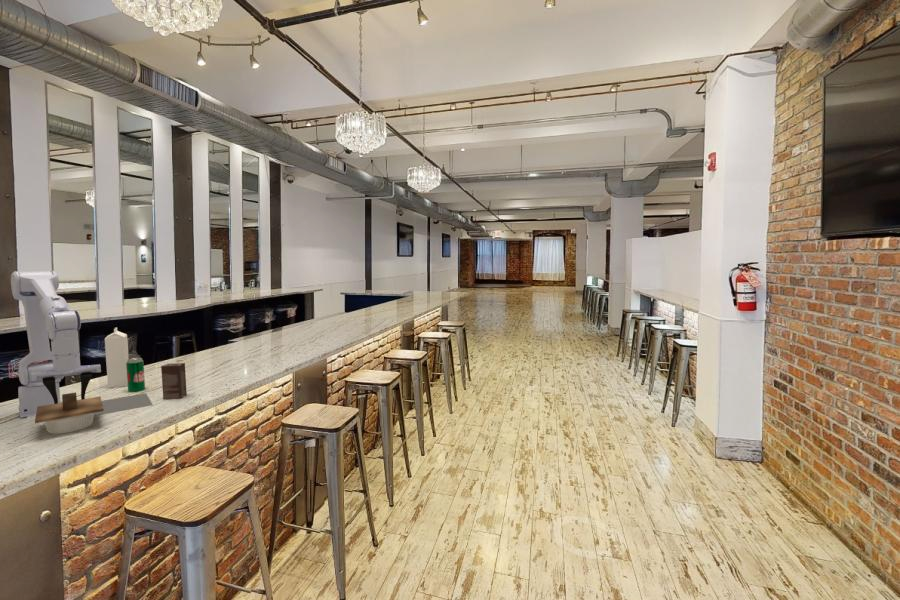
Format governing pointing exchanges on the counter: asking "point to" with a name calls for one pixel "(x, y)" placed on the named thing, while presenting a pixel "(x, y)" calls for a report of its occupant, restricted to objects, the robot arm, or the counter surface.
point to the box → (174, 381)
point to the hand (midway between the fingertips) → (69, 400)
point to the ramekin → (69, 423)
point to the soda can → (135, 374)
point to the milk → (116, 358)
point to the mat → (124, 403)
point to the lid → (68, 408)
